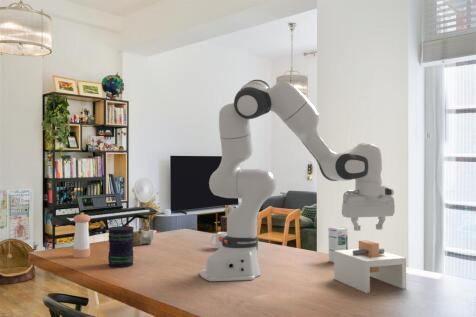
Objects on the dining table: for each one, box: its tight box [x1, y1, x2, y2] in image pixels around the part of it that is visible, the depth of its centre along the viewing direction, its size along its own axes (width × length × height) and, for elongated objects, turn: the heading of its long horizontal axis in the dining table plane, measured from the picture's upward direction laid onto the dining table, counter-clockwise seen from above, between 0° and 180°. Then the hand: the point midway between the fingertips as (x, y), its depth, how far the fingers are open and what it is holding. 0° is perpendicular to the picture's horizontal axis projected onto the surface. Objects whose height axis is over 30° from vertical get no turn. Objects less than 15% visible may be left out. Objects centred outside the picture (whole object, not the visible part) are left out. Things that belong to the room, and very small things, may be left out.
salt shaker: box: [72, 212, 91, 259], centre depth 185 cm, size 7×7×19 cm
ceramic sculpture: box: [133, 228, 154, 246], centre depth 213 cm, size 11×9×15 cm
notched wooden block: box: [358, 239, 380, 273], centre depth 144 cm, size 3×7×10 cm, turn 20°
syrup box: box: [328, 226, 349, 264], centre depth 178 cm, size 6×6×14 cm
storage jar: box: [107, 225, 135, 269], centre depth 169 cm, size 10×10×15 cm
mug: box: [210, 231, 227, 250], centre depth 205 cm, size 12×8×8 cm
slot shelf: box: [333, 247, 407, 294], centre depth 144 cm, size 16×18×12 cm
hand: (368, 230), depth 146 cm, fingers open, 8 cm apart
